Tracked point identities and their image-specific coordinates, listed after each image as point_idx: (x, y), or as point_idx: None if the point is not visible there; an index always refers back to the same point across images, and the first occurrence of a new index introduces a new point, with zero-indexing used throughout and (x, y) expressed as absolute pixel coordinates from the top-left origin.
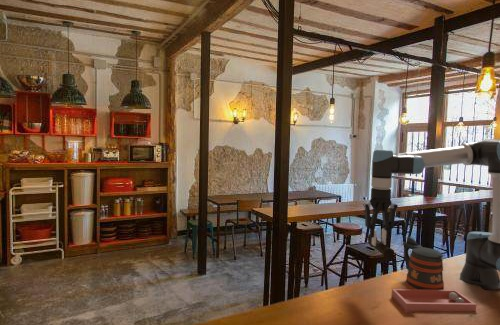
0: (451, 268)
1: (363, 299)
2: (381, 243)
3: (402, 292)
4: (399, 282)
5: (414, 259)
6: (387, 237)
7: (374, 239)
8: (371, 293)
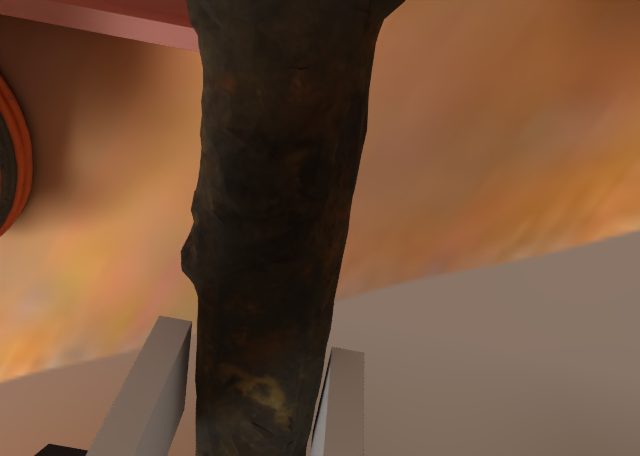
0: None
1: (478, 48)
2: (234, 350)
3: (146, 15)
4: (51, 250)
5: None
6: (52, 445)
7: (359, 444)
8: None
